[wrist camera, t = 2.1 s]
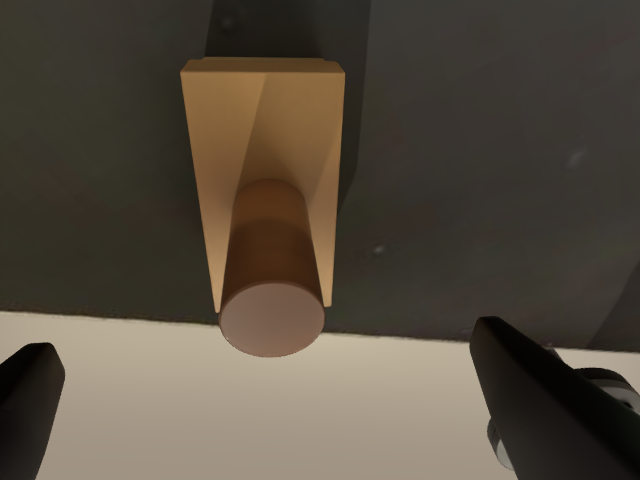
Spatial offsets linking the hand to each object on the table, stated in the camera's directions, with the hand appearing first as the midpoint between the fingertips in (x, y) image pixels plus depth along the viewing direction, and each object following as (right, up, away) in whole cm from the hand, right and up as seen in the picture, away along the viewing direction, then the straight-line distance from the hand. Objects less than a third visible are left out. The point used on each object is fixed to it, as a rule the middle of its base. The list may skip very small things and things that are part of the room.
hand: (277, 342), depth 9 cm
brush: (-1, +5, +7) cm, 9 cm away
